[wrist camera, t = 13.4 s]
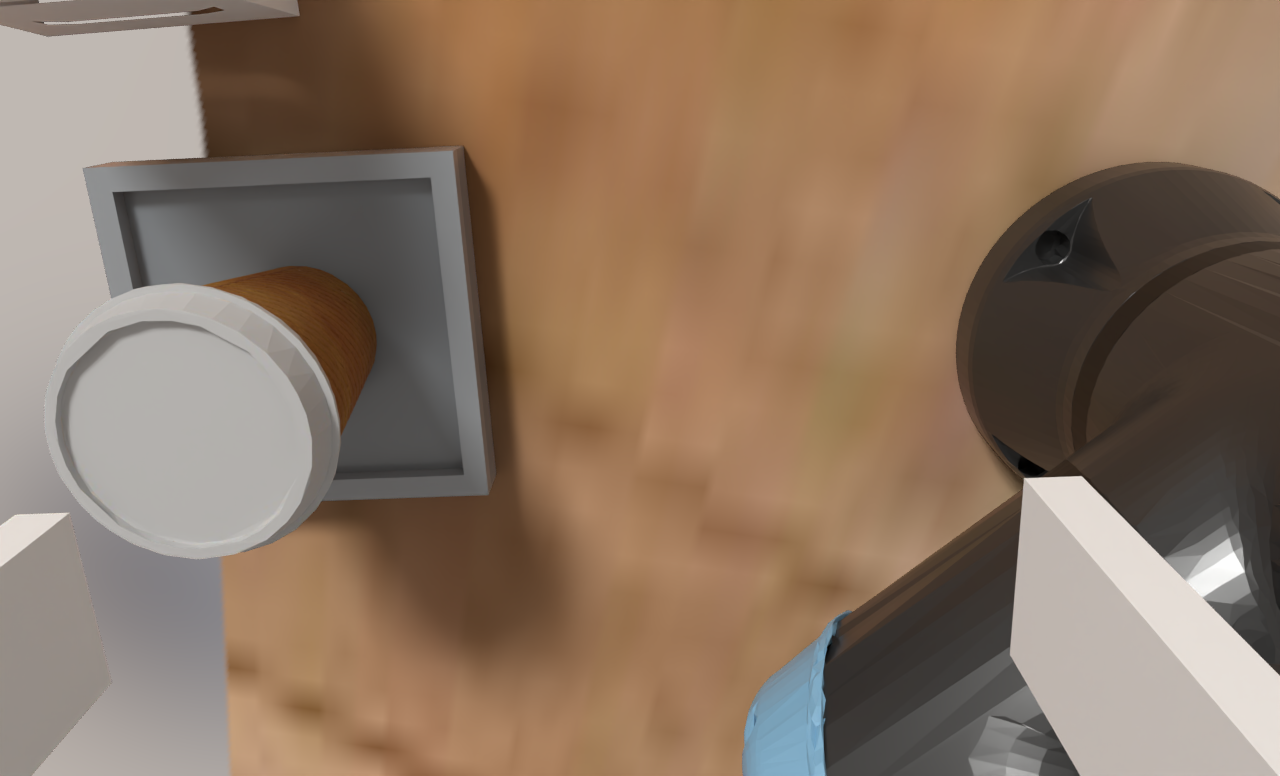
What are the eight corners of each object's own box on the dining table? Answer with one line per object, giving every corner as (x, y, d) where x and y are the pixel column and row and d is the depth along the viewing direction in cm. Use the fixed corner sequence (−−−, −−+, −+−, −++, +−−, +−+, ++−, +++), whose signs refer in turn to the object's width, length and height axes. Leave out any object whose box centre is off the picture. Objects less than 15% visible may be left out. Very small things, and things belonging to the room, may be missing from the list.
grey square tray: (463, 145, 42) (452, 150, 40) (496, 474, 47) (488, 495, 45) (112, 162, 43) (82, 168, 40) (180, 485, 47) (157, 507, 45)
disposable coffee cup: (359, 475, 45) (260, 617, 34) (162, 375, 44) (-12, 489, 33) (452, 296, 43) (376, 386, 31) (244, 184, 41) (86, 236, 30)
